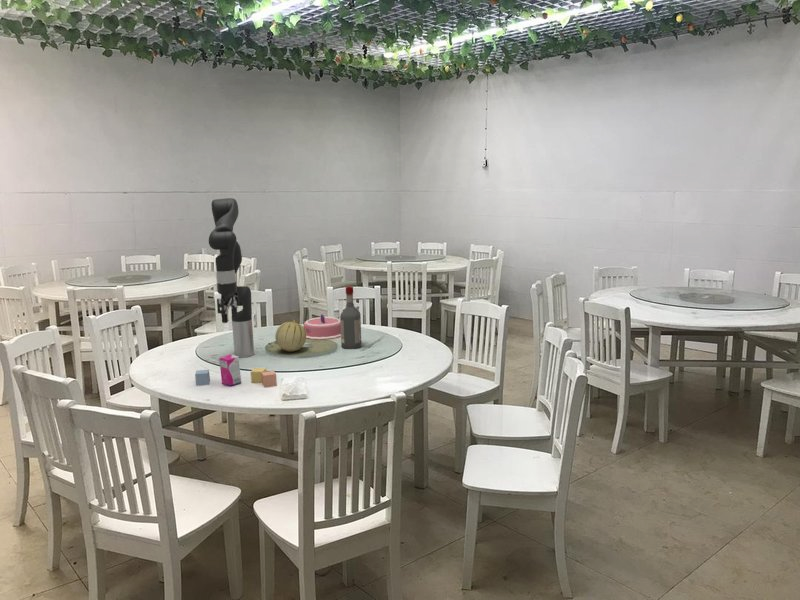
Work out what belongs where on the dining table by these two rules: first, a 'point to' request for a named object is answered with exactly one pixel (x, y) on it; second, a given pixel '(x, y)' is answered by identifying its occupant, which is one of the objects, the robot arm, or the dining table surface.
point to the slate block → (202, 377)
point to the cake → (322, 328)
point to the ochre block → (257, 375)
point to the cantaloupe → (290, 336)
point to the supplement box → (230, 370)
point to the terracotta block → (269, 379)
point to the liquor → (350, 323)
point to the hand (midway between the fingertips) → (230, 319)
